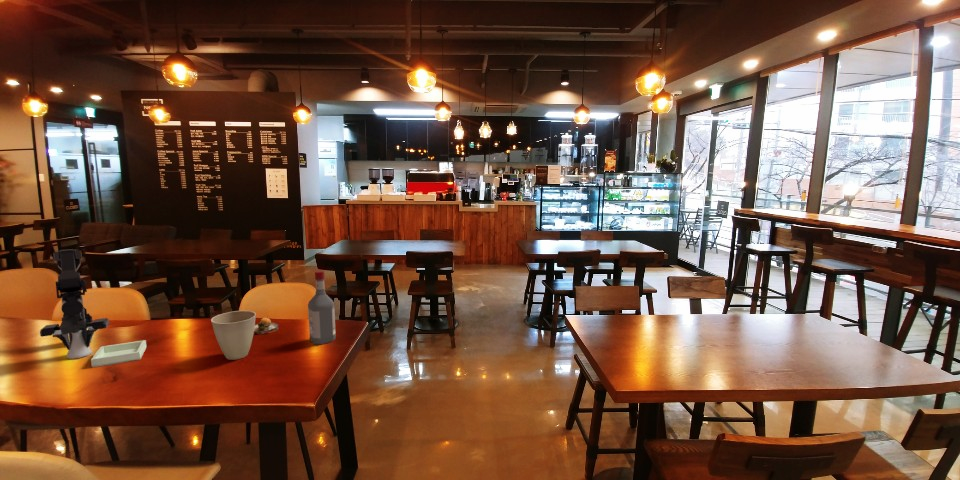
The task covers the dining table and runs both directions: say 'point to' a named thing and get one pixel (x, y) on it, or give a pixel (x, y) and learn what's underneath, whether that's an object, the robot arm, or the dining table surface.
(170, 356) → the dining table surface
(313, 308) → the liquor
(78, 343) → the flask
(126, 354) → the tray
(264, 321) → the burger
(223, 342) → the plant pot
